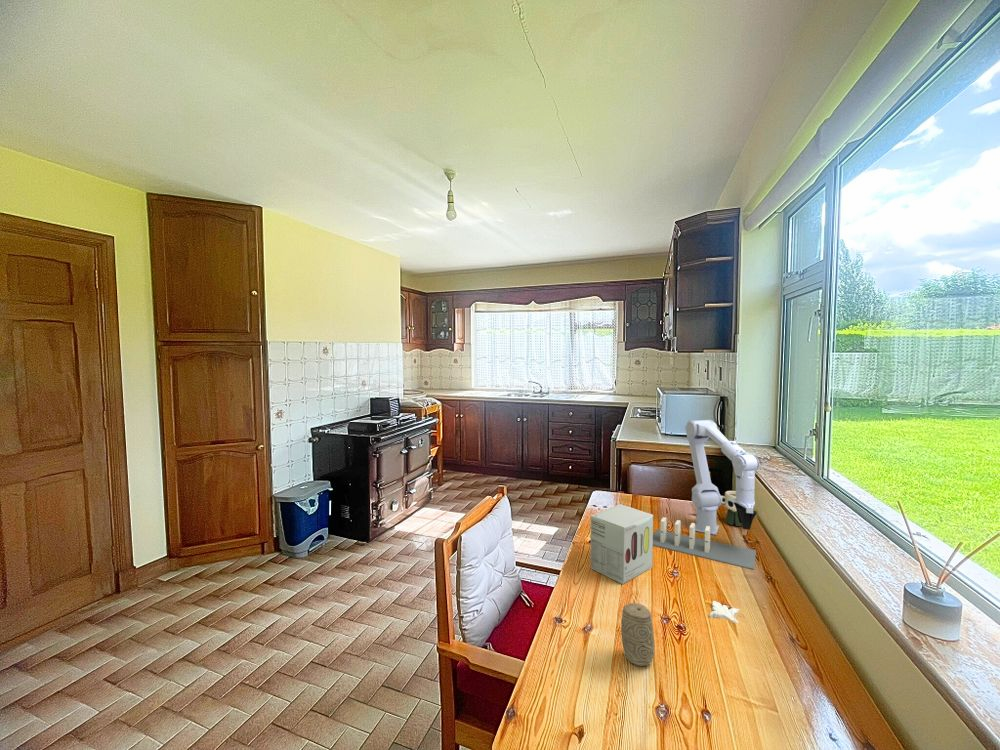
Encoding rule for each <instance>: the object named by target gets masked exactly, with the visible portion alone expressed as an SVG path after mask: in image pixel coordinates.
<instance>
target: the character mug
mask: <svg viewBox="0 0 1000 750" xmlns="http://www.w3.org/2000/svg"><path fill="white" fill-rule="evenodd" d="M721 498H722V503H721V505H722V504H723V505H724V506H725V508H726V509H727V512H726V517H725V522H726V524H728V525H730V526H734V525H735V526H736V527H742V523H739V519H738V514H737V510H736V507H735V505H734V503H733V502H732V499H735V498H736V490H727V491H725V492H724V495H721ZM723 500H724V501H723Z"/></svg>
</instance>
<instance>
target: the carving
mask: <svg viewBox="0 0 1000 750" xmlns="http://www.w3.org/2000/svg"><path fill="white" fill-rule="evenodd" d="M622 608H623V609H622V614H621V622H620V623H621V624H620V627H621V628H620V633H621V645H622V647H623V652H624V656H625V658H626V659H627V660H628V661H629V663H632V664H633V665H636V666H639V667H643V666H644V667H645V666H648V665H650V664H651V663H652V662H653V660H654V657H655V637H654V635H653V634H654V627H653V622H652V621H653V619H652V614H651V612H650V610H649V608H647V607H646V606H645V605H644V604H642V603H639V602H632V603H626V604H625V605H624V606H623V607H622Z"/></svg>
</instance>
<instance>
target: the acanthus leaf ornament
mask: <svg viewBox="0 0 1000 750" xmlns="http://www.w3.org/2000/svg"><path fill="white" fill-rule="evenodd" d="M711 603H712V604H711V606H712V609H711V610H712V611H710V612H709V618H710V619H711V618H714V619H716V618H717V619H726V620H728V621H730V622H732V623H733V624H739V621H738V620H737V619H736V618H735V617H736V616H738V614H739V613H738V612H740V609H739V608H734V607H732V608H730V609H729V608H728V606H727V605H726V604H723V605H722V604H721V602H718V601H716V600H713V601H712V602H711Z"/></svg>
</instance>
